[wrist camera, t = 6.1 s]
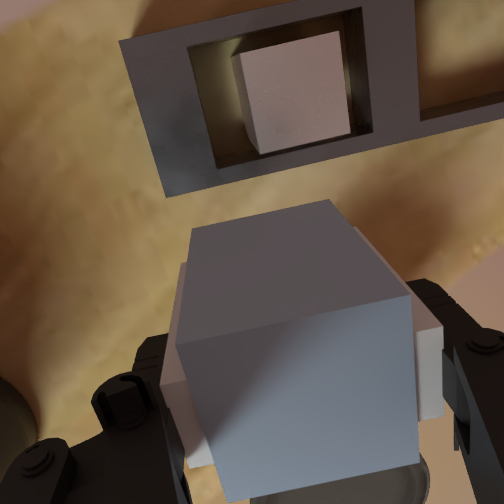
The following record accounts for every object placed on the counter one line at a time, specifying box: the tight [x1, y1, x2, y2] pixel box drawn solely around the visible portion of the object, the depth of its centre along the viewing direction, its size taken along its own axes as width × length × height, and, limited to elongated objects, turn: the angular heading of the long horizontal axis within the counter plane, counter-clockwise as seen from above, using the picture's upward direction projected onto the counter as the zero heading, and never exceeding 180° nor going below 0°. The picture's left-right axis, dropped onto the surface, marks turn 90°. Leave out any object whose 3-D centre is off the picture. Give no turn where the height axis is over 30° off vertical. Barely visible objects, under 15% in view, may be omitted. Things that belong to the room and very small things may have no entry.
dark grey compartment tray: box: [118, 0, 504, 198], centre depth 27 cm, size 30×9×4 cm, turn 102°
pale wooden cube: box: [231, 31, 350, 154], centre depth 25 cm, size 5×5×7 cm
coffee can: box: [250, 452, 430, 504], centre depth 30 cm, size 10×10×14 cm
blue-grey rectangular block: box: [175, 199, 420, 503], centre depth 13 cm, size 5×5×7 cm
